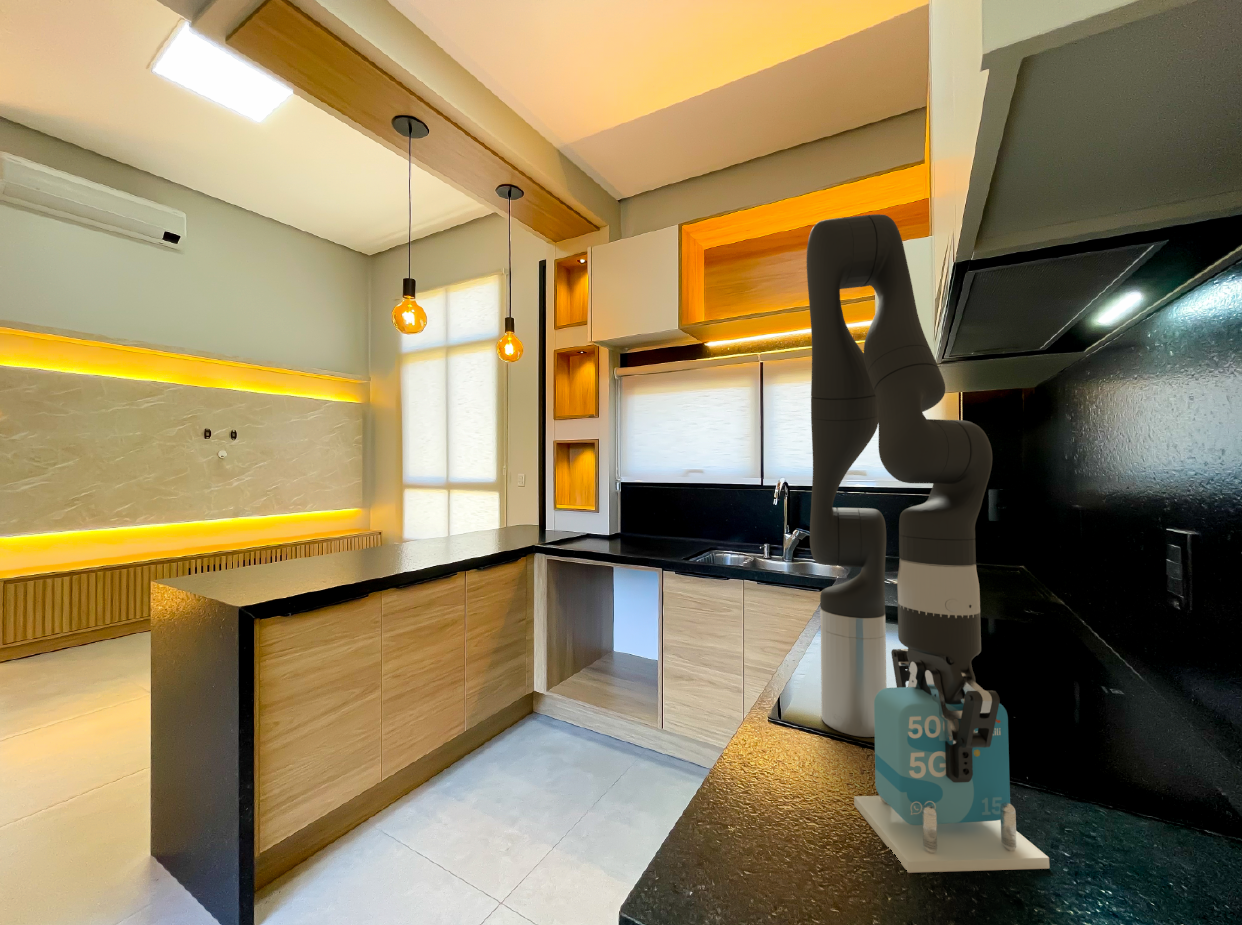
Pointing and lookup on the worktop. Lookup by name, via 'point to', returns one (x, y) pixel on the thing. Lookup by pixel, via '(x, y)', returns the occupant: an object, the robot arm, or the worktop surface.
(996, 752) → the data package
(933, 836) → the guide pins
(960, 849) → the tray
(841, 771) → the worktop surface
